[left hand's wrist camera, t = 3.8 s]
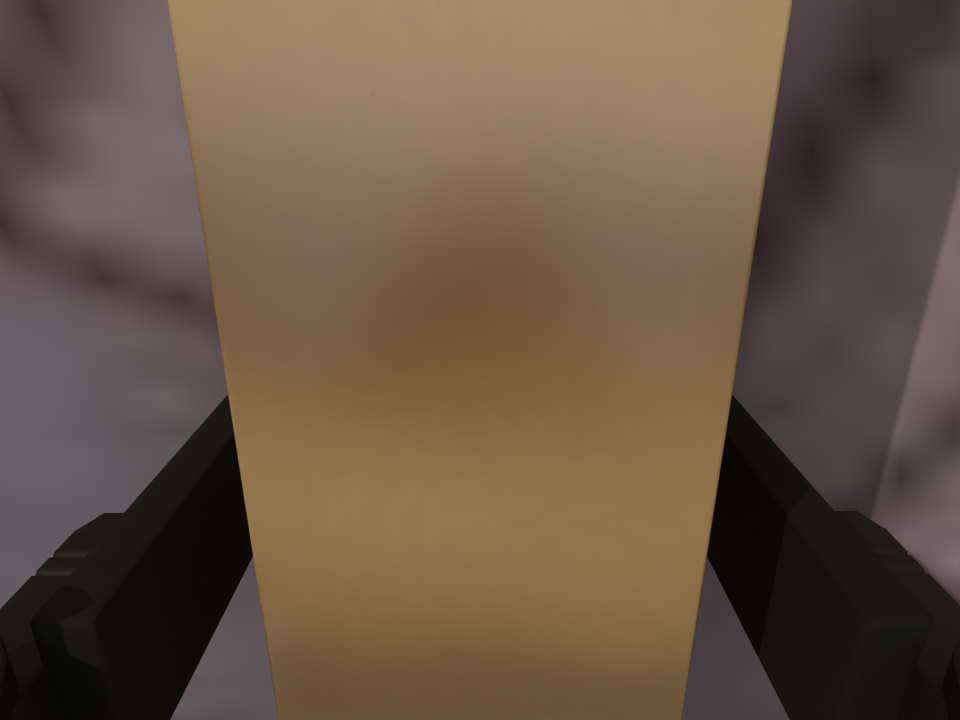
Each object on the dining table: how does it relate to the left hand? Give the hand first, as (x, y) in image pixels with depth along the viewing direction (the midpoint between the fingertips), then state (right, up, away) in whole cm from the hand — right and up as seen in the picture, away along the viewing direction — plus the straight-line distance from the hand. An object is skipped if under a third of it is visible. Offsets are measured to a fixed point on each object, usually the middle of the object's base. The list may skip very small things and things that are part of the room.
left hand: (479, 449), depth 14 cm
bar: (0, +25, -8) cm, 27 cm away
